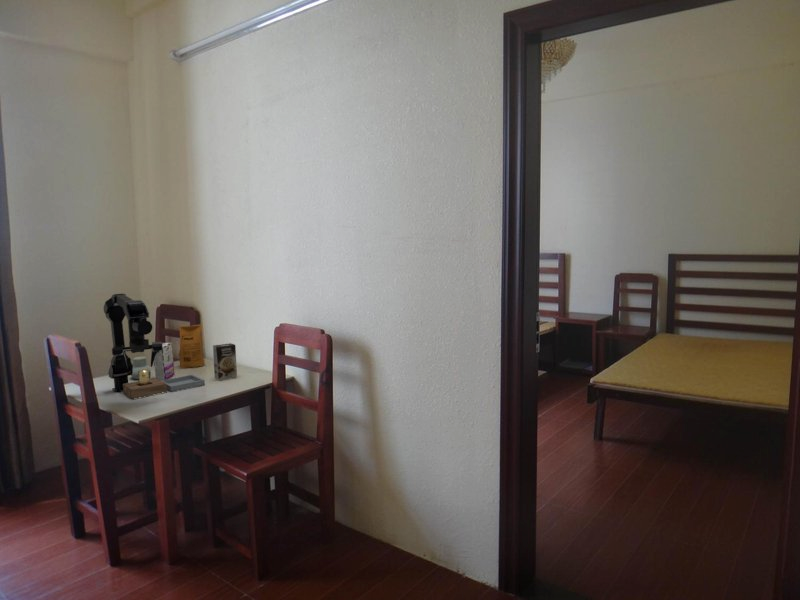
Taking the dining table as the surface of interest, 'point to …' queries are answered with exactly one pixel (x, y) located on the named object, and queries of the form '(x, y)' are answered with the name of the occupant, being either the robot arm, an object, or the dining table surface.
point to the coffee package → (191, 346)
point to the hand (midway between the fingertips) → (139, 368)
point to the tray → (183, 382)
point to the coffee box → (224, 361)
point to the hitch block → (144, 388)
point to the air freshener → (139, 366)
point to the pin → (143, 377)
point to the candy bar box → (164, 362)
